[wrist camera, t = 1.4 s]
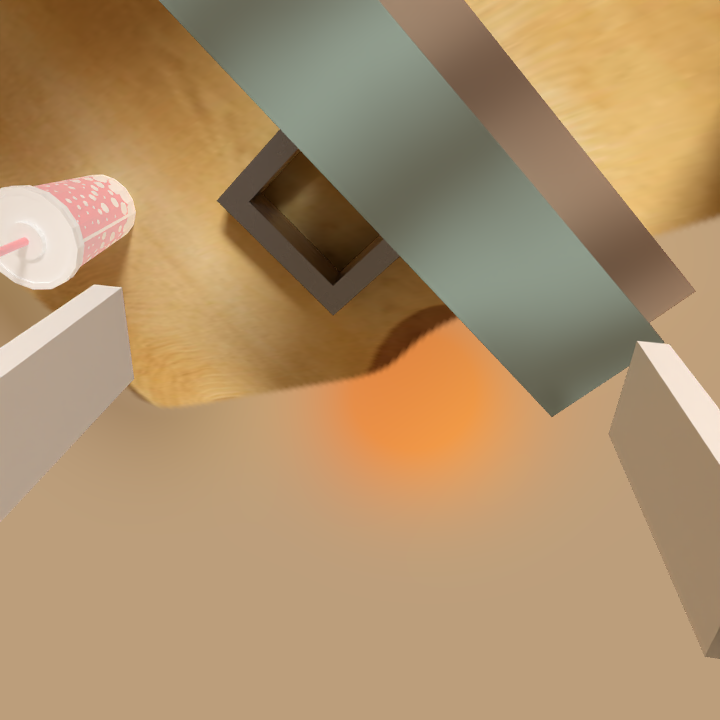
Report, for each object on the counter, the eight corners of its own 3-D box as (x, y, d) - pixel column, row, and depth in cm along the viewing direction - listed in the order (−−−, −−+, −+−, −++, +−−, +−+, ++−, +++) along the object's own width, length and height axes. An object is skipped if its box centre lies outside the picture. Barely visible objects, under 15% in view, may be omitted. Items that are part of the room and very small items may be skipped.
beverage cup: (59, 156, 42) (-105, 196, 29) (144, 170, 41) (15, 216, 29) (67, 242, 44) (-79, 311, 32) (147, 255, 44) (30, 331, 32)
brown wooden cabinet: (303, 13, 36) (107, -55, 15) (370, -68, 34) (249, -278, 13) (495, 233, 40) (551, 416, 19) (566, 173, 38) (715, 308, 17)
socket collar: (231, 191, 41) (216, 200, 39) (338, 72, 37) (330, 72, 34) (340, 300, 44) (333, 315, 41) (451, 199, 40) (452, 209, 37)
